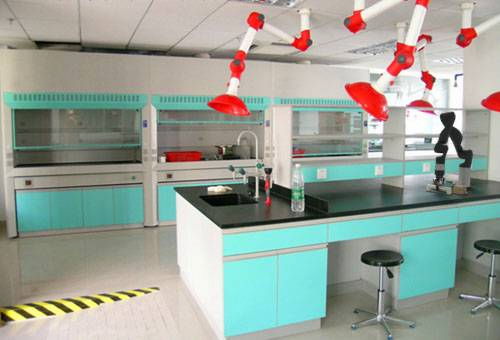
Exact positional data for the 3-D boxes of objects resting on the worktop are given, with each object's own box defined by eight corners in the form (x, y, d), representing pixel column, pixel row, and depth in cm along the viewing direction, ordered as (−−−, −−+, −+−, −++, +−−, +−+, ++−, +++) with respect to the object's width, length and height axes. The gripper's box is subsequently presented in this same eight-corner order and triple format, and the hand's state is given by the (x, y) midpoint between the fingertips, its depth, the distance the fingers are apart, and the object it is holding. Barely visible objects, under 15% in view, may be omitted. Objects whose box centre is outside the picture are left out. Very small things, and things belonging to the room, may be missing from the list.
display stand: (436, 188, 364) (437, 178, 362) (467, 193, 341) (468, 182, 340) (430, 189, 359) (431, 178, 358) (461, 194, 337) (462, 183, 336)
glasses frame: (428, 190, 355) (428, 184, 354) (451, 194, 338) (451, 187, 338) (426, 190, 353) (426, 184, 353) (448, 194, 337) (449, 188, 336)
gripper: (440, 168, 350) (439, 188, 353) (430, 169, 343) (429, 190, 345) (449, 169, 344) (447, 190, 346) (438, 170, 336) (437, 191, 339)
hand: (438, 190), depth 346 cm, fingers closed on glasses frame, 3 cm apart
